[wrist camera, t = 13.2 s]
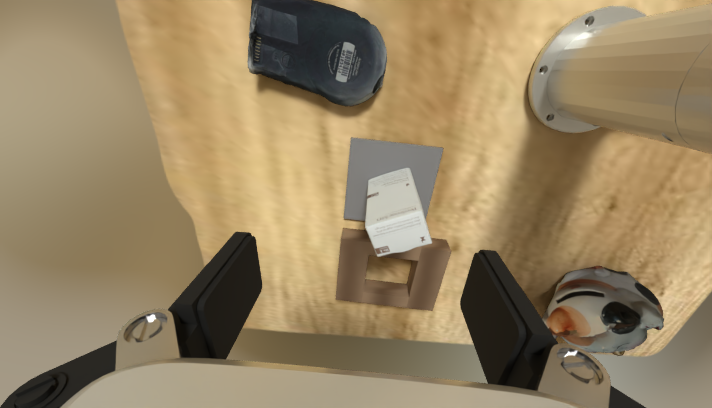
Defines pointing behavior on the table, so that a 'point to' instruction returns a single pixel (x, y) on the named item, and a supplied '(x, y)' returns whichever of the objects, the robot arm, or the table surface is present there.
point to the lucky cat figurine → (602, 311)
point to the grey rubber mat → (388, 170)
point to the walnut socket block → (411, 295)
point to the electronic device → (317, 49)
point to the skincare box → (395, 214)
